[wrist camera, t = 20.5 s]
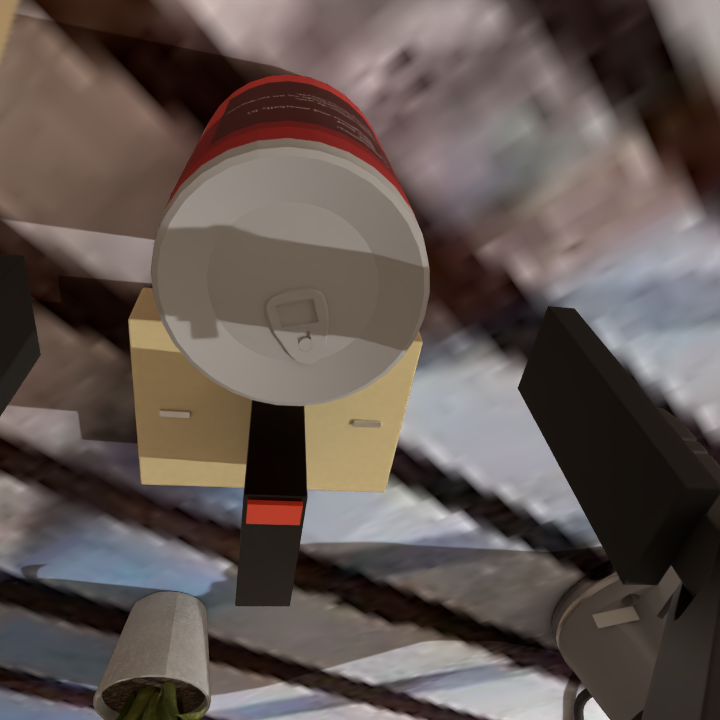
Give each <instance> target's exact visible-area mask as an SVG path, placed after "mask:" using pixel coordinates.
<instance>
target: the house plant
mask: <svg viewBox="0 0 720 720" xmlns="http://www.w3.org/2000/svg"><path fill="white" fill-rule="evenodd" d="M210 703H211V692H210V671H209V650H208V629H207V612H206V608H205V606H204V605H203V603H202V602H201V601H199V600H198V599H197V598H195V597H193V596H191V595H188V594H185V593H180V592H171V591H165V592H157V593H154V594H151V595H148V596H146V597H144V598H142V599H140V600H139V601H137V602H136V603H135V604H134V606H133V608H132V610H131V612H130V614H129V617H128V619H127V621H126V624H125V626H124V628H123V631H122V633H121V635H120V638H119V640H118V642H117V645H116V647H115V649H114V652H113V654H112V656H111V659H110V661H109V663H108V666H107V668H106V670H105V673H104V675H103V677H102V680H101V682H100V684H99V687H98V689H97V691H96V694H95V696H94V703H93V706H94V708H95V710H96V712H97V714H98V715H100V716H101V717H102V718H103V719H104V720H199V719H200V718H201V717H202V716H203V715H204V714H205V713H206V712H207V711H208V709H209V707H210Z"/></svg>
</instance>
